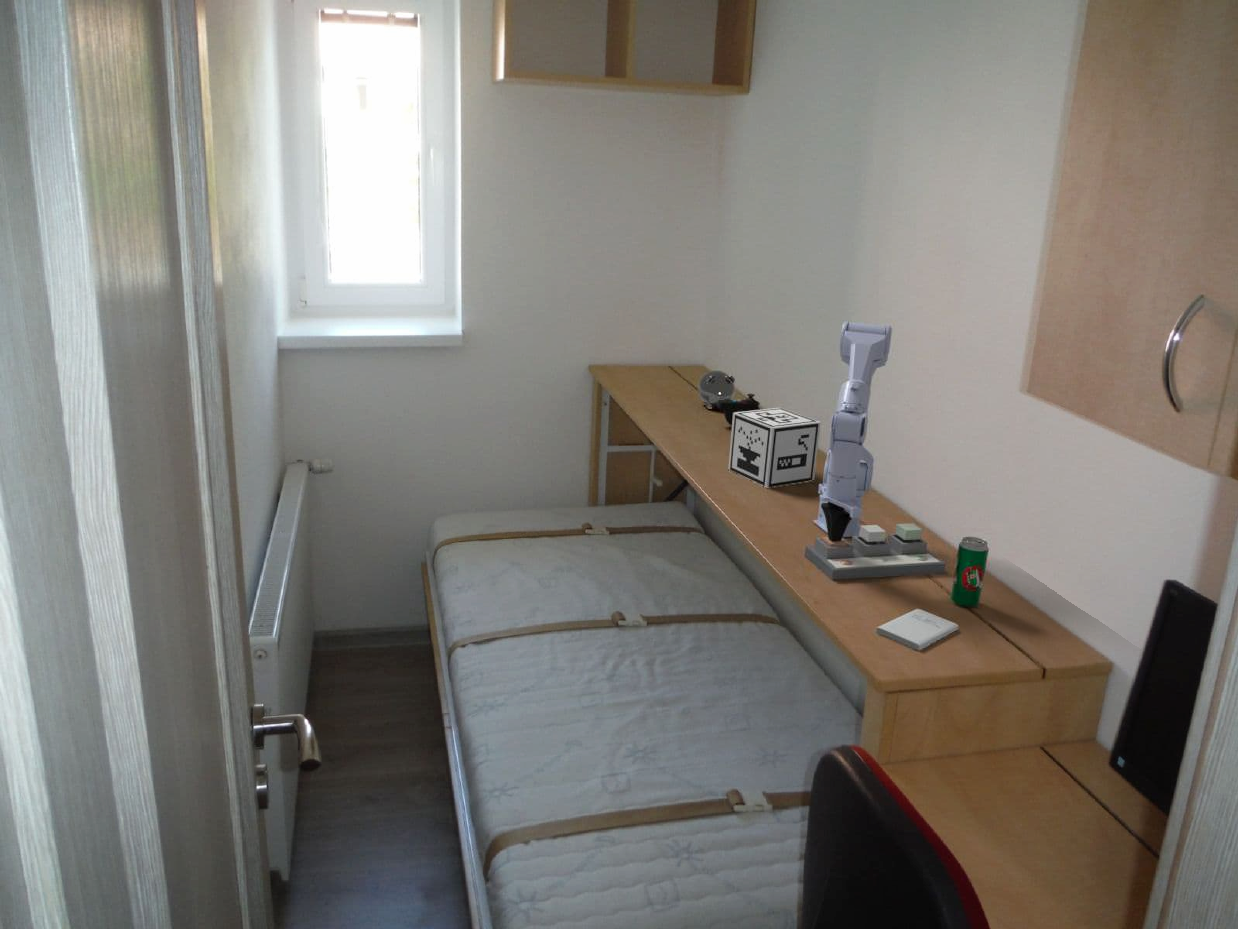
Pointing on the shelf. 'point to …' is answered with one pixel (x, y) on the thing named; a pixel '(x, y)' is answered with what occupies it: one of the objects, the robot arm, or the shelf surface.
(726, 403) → the controller
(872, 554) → the button board
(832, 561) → the pattern card
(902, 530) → the sage button
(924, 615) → the external hard drive
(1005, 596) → the shelf surface
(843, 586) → the shelf surface
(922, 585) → the shelf surface
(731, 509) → the shelf surface
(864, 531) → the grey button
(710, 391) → the piggy bank
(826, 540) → the terracotta button
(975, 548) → the soda can
